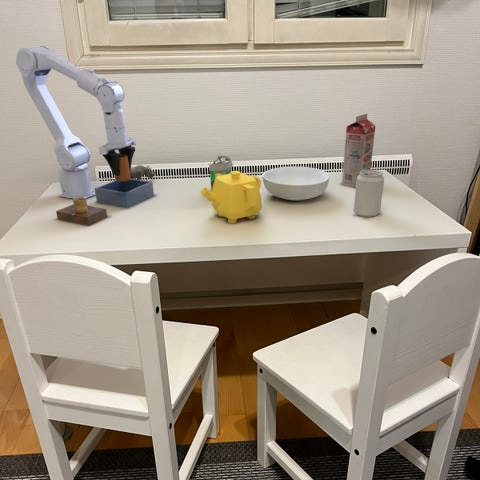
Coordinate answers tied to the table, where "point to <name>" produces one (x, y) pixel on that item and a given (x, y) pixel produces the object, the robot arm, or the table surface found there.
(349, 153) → the juice carton
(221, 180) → the teapot
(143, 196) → the blue open tray
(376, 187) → the can
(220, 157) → the grey green irregular piece
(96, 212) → the panel
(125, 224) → the table surface
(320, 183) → the serving bowl
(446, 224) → the table surface
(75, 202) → the tap knob
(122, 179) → the jar
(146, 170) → the rhino figurine
